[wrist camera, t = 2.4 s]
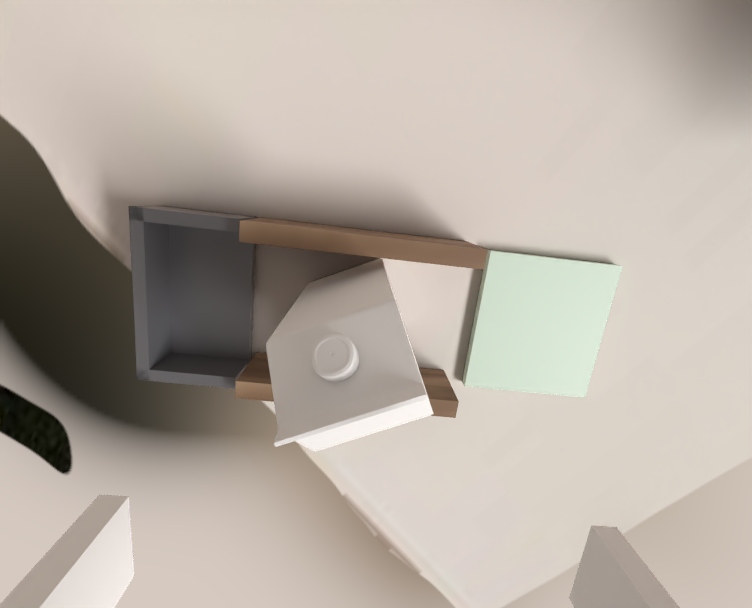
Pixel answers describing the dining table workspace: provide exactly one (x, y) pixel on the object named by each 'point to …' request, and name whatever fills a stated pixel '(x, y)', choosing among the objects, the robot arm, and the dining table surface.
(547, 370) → the pad
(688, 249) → the dining table surface
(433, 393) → the channel
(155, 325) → the bin
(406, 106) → the dining table surface
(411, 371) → the milk carton
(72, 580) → the robot arm
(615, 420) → the dining table surface
